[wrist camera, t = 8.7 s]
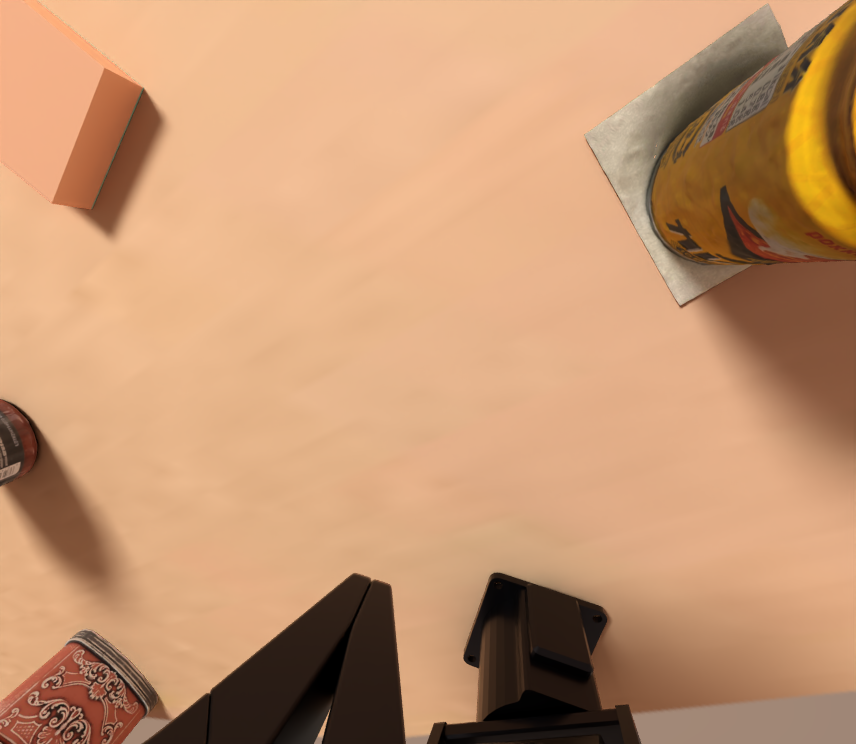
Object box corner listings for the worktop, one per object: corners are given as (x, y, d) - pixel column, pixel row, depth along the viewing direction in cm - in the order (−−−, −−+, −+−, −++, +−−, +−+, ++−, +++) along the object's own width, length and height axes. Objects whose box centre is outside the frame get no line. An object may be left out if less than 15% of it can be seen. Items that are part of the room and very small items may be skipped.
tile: (104, 67, 18) (-111, -110, 18) (51, 203, 20) (-142, 46, 20) (151, 92, 20) (-38, -64, 20) (100, 210, 22) (-72, 70, 22)
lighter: (68, 641, 31) (-127, 807, 21) (89, 621, 30) (-105, 786, 20) (142, 714, 31) (-15, 908, 22) (166, 697, 30) (12, 892, 21)
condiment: (677, 305, 18) (990, 362, 7) (583, 136, 17) (752, -143, 6) (858, 205, 16) (1761, 36, 5) (762, 8, 15) (1590, -828, 4)
